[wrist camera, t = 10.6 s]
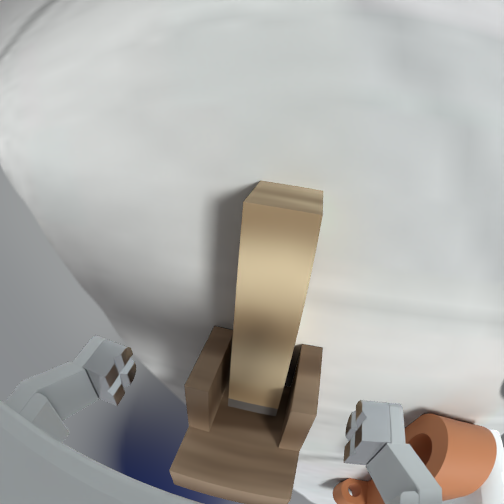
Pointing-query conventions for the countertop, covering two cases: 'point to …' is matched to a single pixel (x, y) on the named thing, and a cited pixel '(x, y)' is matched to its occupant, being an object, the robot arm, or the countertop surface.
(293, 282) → the rail
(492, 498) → the white piece
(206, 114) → the countertop surface
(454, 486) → the crank
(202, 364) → the wooden u-shaped bracket
